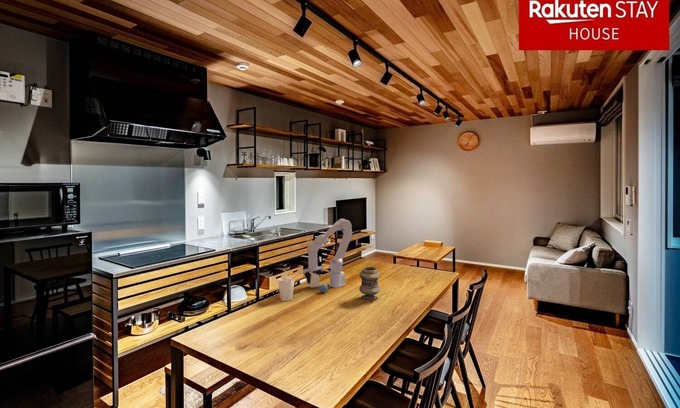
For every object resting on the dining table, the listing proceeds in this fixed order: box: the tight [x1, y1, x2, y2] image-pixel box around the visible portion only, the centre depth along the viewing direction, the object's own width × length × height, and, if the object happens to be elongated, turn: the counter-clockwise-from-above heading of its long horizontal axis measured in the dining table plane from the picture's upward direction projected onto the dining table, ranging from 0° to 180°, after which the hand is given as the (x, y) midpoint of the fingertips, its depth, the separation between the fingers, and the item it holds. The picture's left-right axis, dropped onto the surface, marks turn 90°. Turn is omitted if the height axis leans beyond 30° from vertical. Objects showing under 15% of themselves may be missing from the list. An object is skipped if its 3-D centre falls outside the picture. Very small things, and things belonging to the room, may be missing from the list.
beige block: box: [305, 272, 321, 288], centre depth 224 cm, size 6×6×7 cm
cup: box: [278, 276, 295, 302], centre depth 203 cm, size 9×9×12 cm
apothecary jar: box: [358, 266, 381, 302], centre depth 204 cm, size 12×12×18 cm
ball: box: [319, 284, 329, 294], centre depth 215 cm, size 5×5×5 cm
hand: (313, 282), depth 224 cm, fingers closed on beige block, 6 cm apart
